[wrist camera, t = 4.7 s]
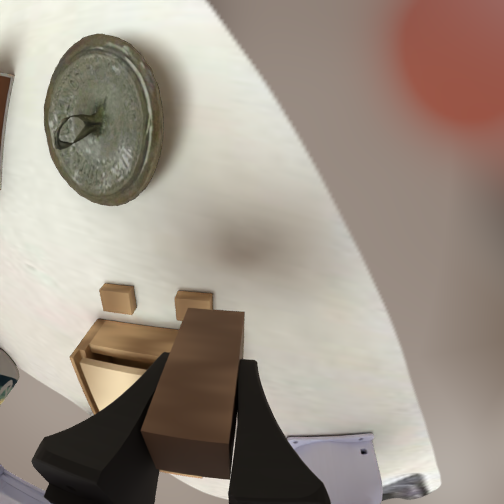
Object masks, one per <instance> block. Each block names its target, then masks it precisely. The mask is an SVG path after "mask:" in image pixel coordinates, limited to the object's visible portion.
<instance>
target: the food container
mask: <svg viewBox="0 0 504 504" xmlns="http://www.w3.org/2000/svg"><path fill="white" fill-rule="evenodd" d="M14 76H15V75H11V74H6V73H2V72H0V190H1V180H2V159H3V147H4V136H5V128H6V120H7V113H8V107H9V101H10V95H11V90H12V85H13V80H14Z"/></svg>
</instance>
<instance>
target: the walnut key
mask: <svg viewBox="0 0 504 504" xmlns="http://www.w3.org/2000/svg"><path fill="white" fill-rule="evenodd" d="M244 314H245V312H239V311H224V310H210V309H198V308H188V309H187V311H186V314H185V316H184V319H183V321H182V324H181V326H180V329H179V331H178V334H177V336H176V339H175V341H174V344H173V346H172V349H171V351H170V354H169V356H168V359H167V362H166V364H165V367H164V369H163V372H162V374H161V377H160V380H159V382H158V385H157V388H156V390H155V393H154V396H153V398H152V401H151V404H150V406H149V409H148V412H147V414H146V417H145V420H144V423H143V425H142V428H141V433H142V436H143V438H144V441H145V443H146V446H147V448H148V450H149V453H150V455H151V458H152V460H153V462H154V464H155V467H156V469H159V470H164V471H169V472H175V473H181V474H187V475H194V476H201V477H209V478H218V479H229V480H230V474H231V465H232V456H233V446H234V437H235V428H236V418H237V406H238V370H239V363H240V359H243V344H244Z"/></svg>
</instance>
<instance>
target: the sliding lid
mask: <svg viewBox="0 0 504 504" xmlns="http://www.w3.org/2000/svg"><path fill="white" fill-rule="evenodd" d="M80 365H81V368H82V370H83V373H84V376H85V378H86V381H87V383H88V386H89V388H90V391H91V393H92V395H93V398H94V400H95V402H96V405H97V407H98V409H99V411H101V410H102V409H104V408H105V407H107V406H108V405H109V404H111V403H112V402H113V401H115V400H116V399H117V398H118V397H119V396H121V395H122V394H123V393H124V392H125V391H126V390H127V389H128V388H129V387H131V386H132V385H133V384H134V383H135V382H136V381H137V380H138V379H139V378H140V377H141V376H142V375H143V374H144V373H145V371H146V370H144V369H138V368H133V367H127V366H122V365H117V364H112V363H107V362H102V361H98V360H93V359H89V358H84V357H83V358H82V360H81V361H80ZM159 471H160V472H165V473H170V474H176V475H182V476H188V477H195V478H202V477H201V476H194V475H187V474H181V473H175V472H169V471H164V470H159Z"/></svg>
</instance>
